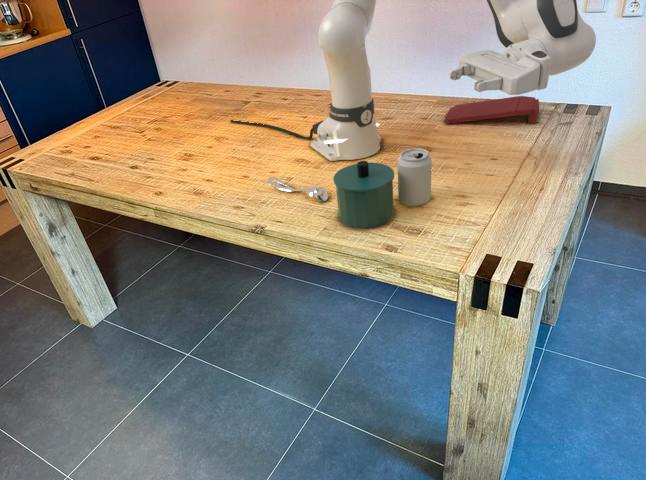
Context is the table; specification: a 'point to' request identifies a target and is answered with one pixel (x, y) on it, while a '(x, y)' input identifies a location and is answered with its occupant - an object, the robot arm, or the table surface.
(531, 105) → the dark red sloped ramp
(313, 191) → the silver spoon
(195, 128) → the table surface
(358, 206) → the pot
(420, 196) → the can
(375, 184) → the pot lid
